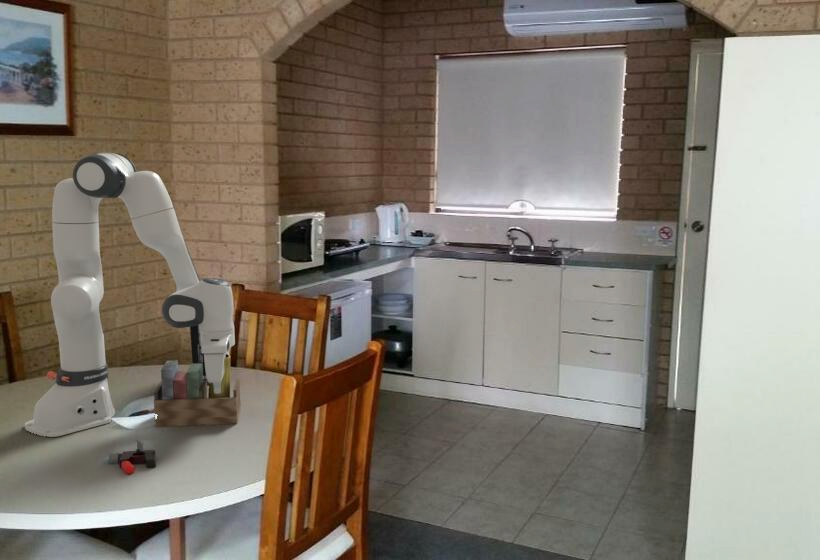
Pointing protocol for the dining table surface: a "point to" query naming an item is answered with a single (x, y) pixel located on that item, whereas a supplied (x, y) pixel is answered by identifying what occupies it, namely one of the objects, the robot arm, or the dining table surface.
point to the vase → (222, 382)
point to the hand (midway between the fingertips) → (219, 388)
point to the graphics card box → (197, 348)
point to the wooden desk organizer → (191, 399)
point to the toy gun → (133, 458)
